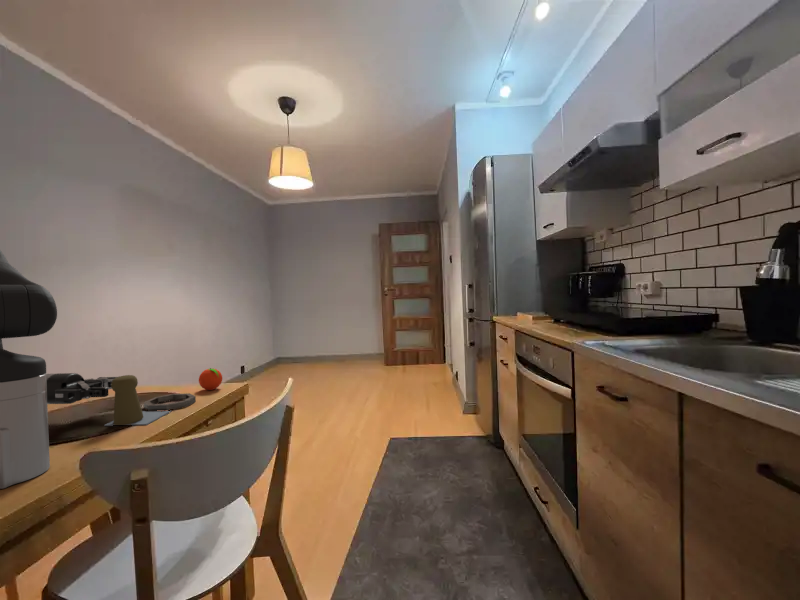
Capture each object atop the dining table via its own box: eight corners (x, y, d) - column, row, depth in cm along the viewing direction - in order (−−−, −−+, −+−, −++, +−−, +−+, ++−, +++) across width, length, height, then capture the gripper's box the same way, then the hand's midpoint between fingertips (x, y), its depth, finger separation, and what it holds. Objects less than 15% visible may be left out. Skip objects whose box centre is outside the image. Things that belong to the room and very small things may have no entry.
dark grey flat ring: (179, 410, 100) (179, 404, 100) (135, 411, 100) (135, 405, 100) (201, 398, 112) (201, 393, 112) (162, 399, 112) (162, 394, 112)
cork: (149, 415, 95) (145, 372, 93) (129, 425, 89) (124, 380, 88) (128, 414, 95) (123, 372, 94) (106, 424, 90) (101, 380, 88)
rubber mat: (146, 425, 90) (146, 423, 90) (104, 426, 89) (104, 424, 89) (171, 411, 100) (171, 410, 100) (133, 412, 99) (133, 411, 99)
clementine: (229, 388, 123) (228, 367, 123) (208, 394, 117) (208, 371, 117) (214, 385, 127) (214, 365, 127) (194, 390, 121) (193, 368, 121)
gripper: (26, 380, 87) (97, 379, 87) (78, 368, 101) (139, 367, 101) (28, 412, 87) (98, 411, 87) (79, 395, 101) (139, 394, 102)
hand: (120, 387), depth 94 cm, fingers open, 8 cm apart
